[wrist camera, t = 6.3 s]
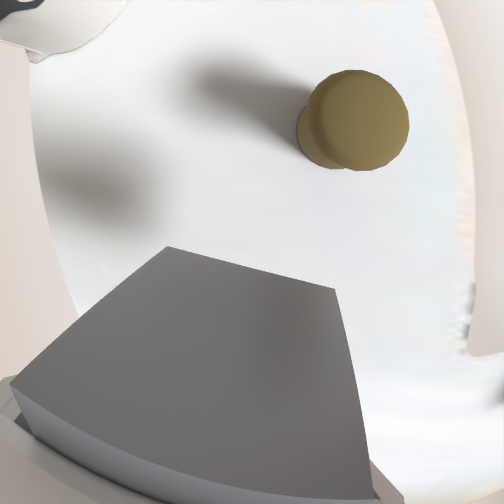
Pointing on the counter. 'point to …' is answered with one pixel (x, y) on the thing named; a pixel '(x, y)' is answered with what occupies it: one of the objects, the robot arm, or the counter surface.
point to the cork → (353, 122)
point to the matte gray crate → (206, 388)
